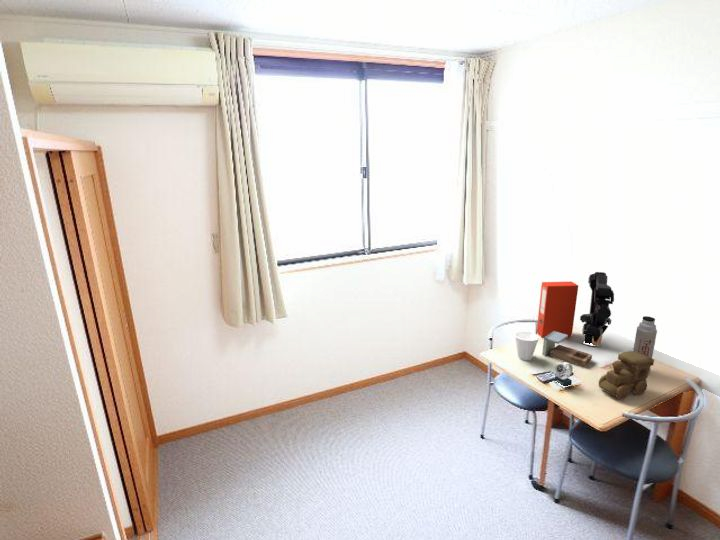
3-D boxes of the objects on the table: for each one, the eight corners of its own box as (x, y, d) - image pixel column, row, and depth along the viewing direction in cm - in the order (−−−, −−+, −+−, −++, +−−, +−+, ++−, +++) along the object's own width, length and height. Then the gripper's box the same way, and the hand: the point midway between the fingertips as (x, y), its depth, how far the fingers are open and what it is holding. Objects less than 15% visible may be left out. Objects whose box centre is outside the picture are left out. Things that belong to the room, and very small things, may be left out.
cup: (530, 351, 226) (532, 330, 222) (540, 362, 214) (543, 340, 211) (509, 352, 225) (511, 331, 222) (518, 363, 214) (520, 341, 211)
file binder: (571, 337, 241) (578, 285, 232) (542, 338, 241) (547, 286, 232) (565, 331, 249) (571, 281, 240) (536, 332, 249) (541, 281, 240)
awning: (551, 347, 230) (553, 331, 227) (565, 351, 224) (567, 335, 222) (542, 354, 222) (544, 337, 219) (556, 359, 216) (558, 342, 214)
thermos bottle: (647, 376, 198) (657, 322, 191) (628, 371, 204) (637, 318, 196) (650, 370, 204) (660, 317, 196) (631, 365, 209) (640, 313, 202)
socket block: (558, 350, 226) (558, 344, 225) (591, 360, 214) (592, 354, 213) (550, 356, 220) (550, 350, 219) (583, 367, 208) (584, 361, 207)
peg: (593, 341, 213) (595, 327, 211) (601, 343, 210) (604, 329, 208) (590, 344, 210) (592, 329, 208) (599, 346, 208) (601, 331, 206)
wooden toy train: (627, 380, 195) (632, 348, 191) (650, 393, 185) (656, 360, 180) (594, 389, 189) (599, 356, 185) (616, 402, 179) (622, 368, 174)
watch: (551, 383, 195) (553, 362, 192) (564, 379, 197) (567, 359, 194) (560, 389, 190) (563, 367, 187) (574, 385, 192) (576, 364, 189)
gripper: (589, 303, 218) (586, 330, 222) (576, 312, 205) (573, 341, 209) (613, 308, 210) (609, 336, 214) (601, 318, 197) (597, 348, 202)
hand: (596, 340), depth 210 cm, fingers closed on peg, 4 cm apart
